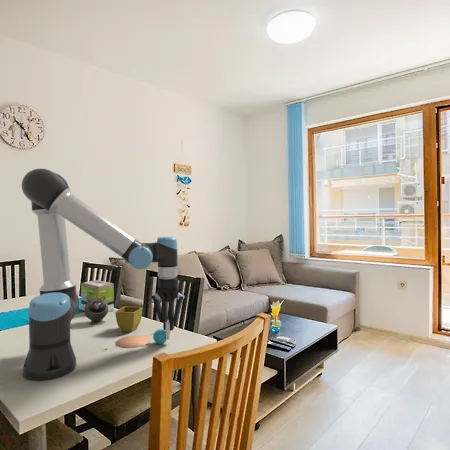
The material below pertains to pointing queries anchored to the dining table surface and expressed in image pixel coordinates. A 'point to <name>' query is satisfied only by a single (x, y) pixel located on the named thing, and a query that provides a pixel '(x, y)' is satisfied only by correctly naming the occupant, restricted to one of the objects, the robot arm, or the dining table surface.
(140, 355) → the dining table surface
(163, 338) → the ball
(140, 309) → the flower pot
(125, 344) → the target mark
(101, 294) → the tea box
